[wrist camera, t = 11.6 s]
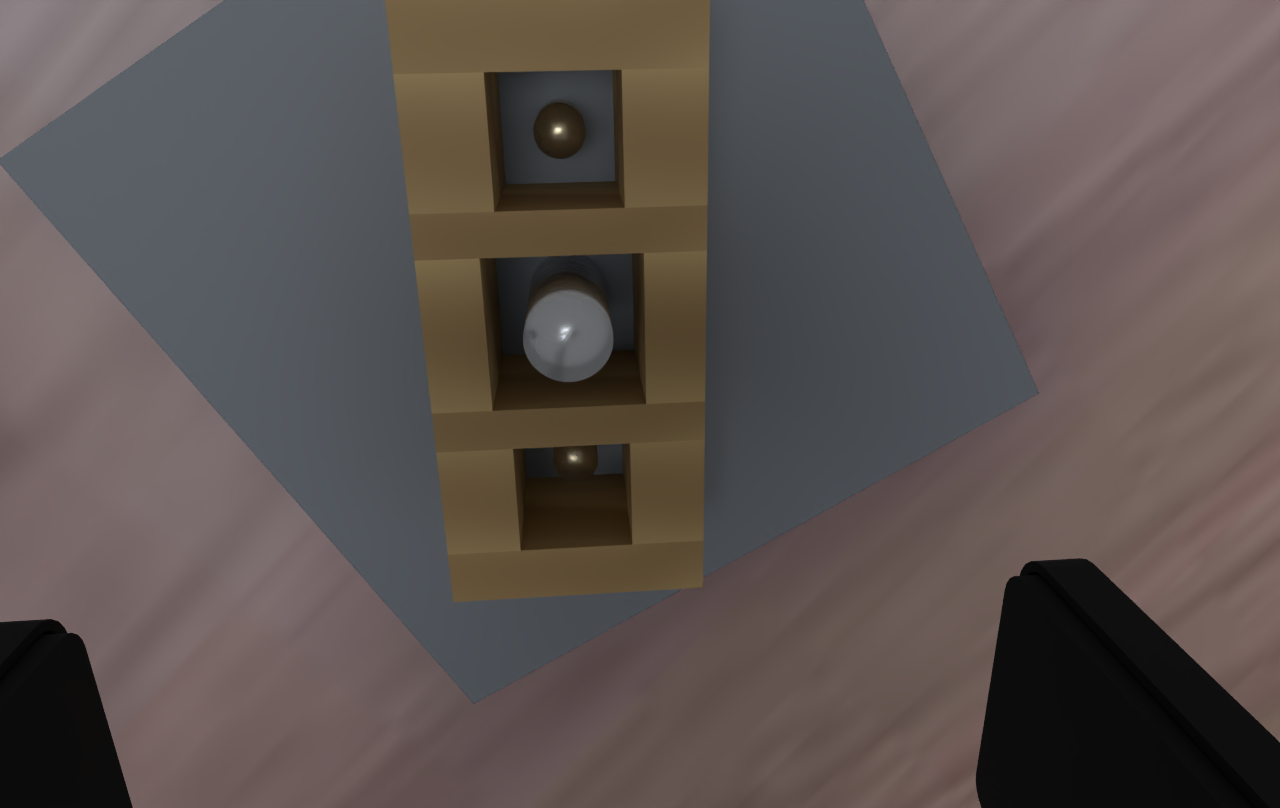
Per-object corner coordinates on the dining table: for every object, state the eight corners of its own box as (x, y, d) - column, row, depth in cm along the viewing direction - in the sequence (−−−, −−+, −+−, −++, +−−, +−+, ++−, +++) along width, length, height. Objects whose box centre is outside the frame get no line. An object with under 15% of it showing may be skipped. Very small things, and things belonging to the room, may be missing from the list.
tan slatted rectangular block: (683, 512, 27) (702, 587, 23) (468, 523, 26) (453, 602, 23) (685, 1, 21) (710, -8, 18) (416, 5, 21) (384, -3, 17)
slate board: (477, 673, 30) (473, 703, 29) (30, 153, 23) (-3, 160, 22) (1015, 375, 28) (1038, 393, 26) (700, -317, 20) (710, -343, 19)
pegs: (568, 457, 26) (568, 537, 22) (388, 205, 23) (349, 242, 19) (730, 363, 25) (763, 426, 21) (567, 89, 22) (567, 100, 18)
